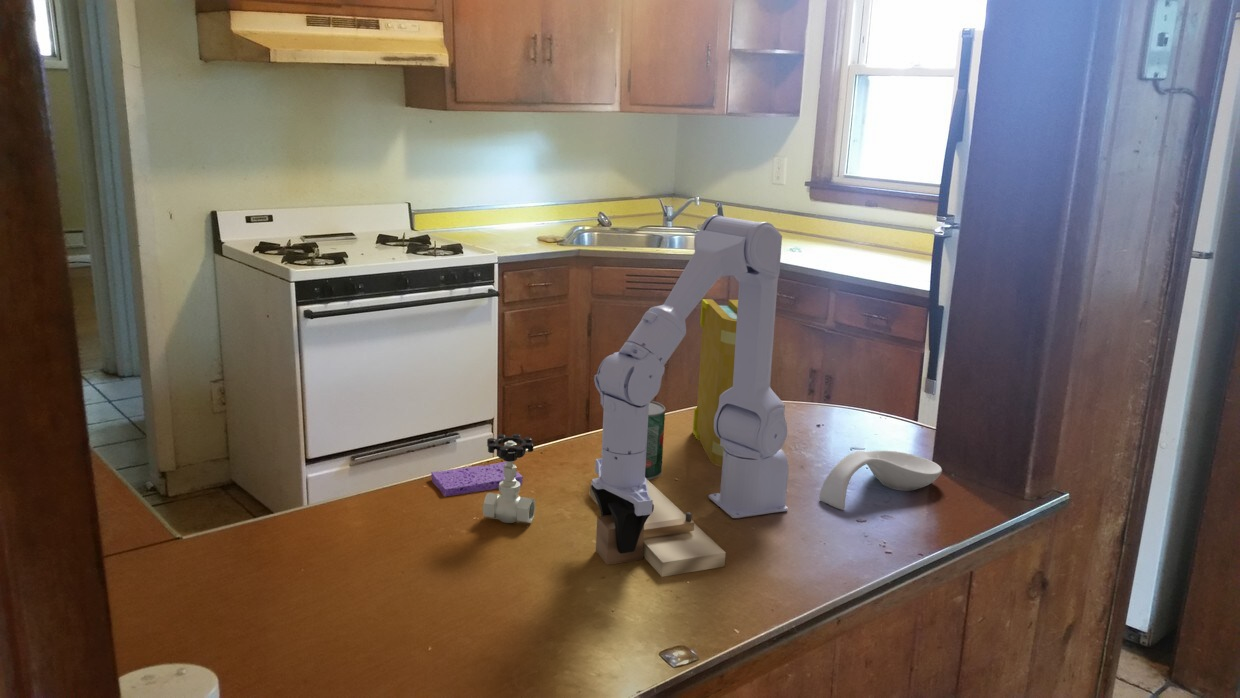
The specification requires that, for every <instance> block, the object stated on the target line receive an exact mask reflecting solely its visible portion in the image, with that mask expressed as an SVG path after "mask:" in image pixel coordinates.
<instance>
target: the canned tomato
mask: <svg viewBox="0 0 1240 698" xmlns="http://www.w3.org/2000/svg"><path fill="white" fill-rule="evenodd" d="M665 420H666V407H665V405H663V404H662V403H661V402H657V401H655V400H652V401H651V402H649V413H648V431H647V449H646V467H645V478H646V479H647V480H648V481H649V480H650V481H651V480H654V479H656V478H659V477H660V476H661V475H662V472H663V470H662V467H663V455H664V454H663V453H664V437H665V436H664V434H665Z"/></svg>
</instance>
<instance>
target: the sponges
mask: <svg viewBox="0 0 1240 698" xmlns="http://www.w3.org/2000/svg"><path fill="white" fill-rule="evenodd" d="M504 465H506V461H503V462H498V463H491V464H488V465H475V466H468V467H460V468H459V467H458V468H453V469H446V470H440V471H438V470H437V471H431V472H430V473H431V474H430V478H431V482H432V484H434V486H436V488H437V489H439V491H440V492H441V494H442V495H443V496H444V497H450V496H451V497H452V496H457V495H463V494H469V493H476V492H482V491H483V492H484V491H489V490H490V491H491V490H495V489H499V483H500V482H501V481H503V479H504V478H506V477H504V475H503V466H504ZM514 478H515V479H516V481H518V482H520V486H523V483H524V482H523V478H524V476H523V475H522V474H520V473H519V471H516V476H514Z"/></svg>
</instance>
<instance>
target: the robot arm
mask: <svg viewBox="0 0 1240 698" xmlns="http://www.w3.org/2000/svg"><path fill="white" fill-rule="evenodd" d="M782 240H783V235H782V234H781V233H780V232H779V231H778V230H777V228H776V227H775V226H774V225H773V224H772V223H770V222H768V221H753V220H748V219H741V218H735V217H728V216H723V215H720V214H713V215H711V216H709V217H707V218H706V219H705V221H704V222H703V223H702V225H701V227H700V230H699V231H698V232H696V234H695V235H694V240H693V241H694V243H693V248H694V249H693V250H694V252H693V254H692V256H691V258H690V259H689V261H688V263H687V264H686V266H685V268H684V270H683V271H682V273H681V274H680V276H679V278H678V279H677V281H676V283H675V285H673V288H672V290H670V293H669V294H668V296H667V298H666V299H665V301H664V303H663V304H661V305H655V306H652V307H650V308H649V309H648V310H646V311H645V313H644V314H643V315H642V318H641V319H640V321H639V323H638V324H637V326H636V327H635V328H634V330H633V331H632V332H631V333H630V335H629V337H628V338H627V340H626V341H625V342H624V344H623V345H622V346H621V348H620V349H619V350H618V351H616V352H613V354H610V355H608V356H606V357H605V358H604V359H603V360H602V361H601V362H600V364H599V367H598V370H597V373H596V374H594V379H593V380H594V381H593V382H594V385H595V388H596V389H597V391H598V393H599V394H600V406H601V407H602V408H603V411H602V412H603V414H602V415H603V416H602V418H603V419H602V437H601V438H602V440H601V458H596V459H595V468H594V471H595V474H597V475H598V477H596V478H592V479H591V483H592V485H591V489H592V491H593V493H594V495H595V497H596V499H597V502H598V505H599V506H598V505H597V506H598V508H599V513H600V516H605V515H612V516H613V519H614V523H615V529H616V543H617V548H618V551H619V553H621V554H622V553H628V552H634V551H635V548H636V545H637V542H638V539H639V536H640V533H641V530H642V528H643V526H644V524H645V522H646V520H647V519H648V517H649V516H650V514H652V512H653V510H654V505H653V500H652V499H651V498H650V496H649V492H648V486H647V481H646V478H645V467H646V449H647V431H648V413H649V402H651V401H654V399H655V397H656V396H657V395H658V394H659V392H660V389H661V386H662V377H663V375H664V374H665V370H666V367H665V366H666V364H667V362H668V360H669V359H670V358H671V356H672V355H673V354H674V352H675V350H676V349H677V348H678V346H680V343H681V342H682V341H683V339H684V338H685V336H686V335H687V326H686V325H687V324H686V319H687V318H688V317H689V316H690V314H691V313H692V312H693V311H694V309H695V308H696V307H697V306H698V304H699V303H700V302H702V299H704V297H706V294H707V293H709V290H711V288H713V286H714V285H715V284H716V282H717V281H718V280H719V279H720V278H723V277H730V276H733V277H734V278H735V280H736V281H738V297H737V298H738V299H737V300H738V309H737V325H736V342H735V358H734V375H733V387H731V388H730V389H728V390H726V391H725V392H723V393H722V394H721V395H720V396H719V406H718V409H717V412H716V414H715V417H714V432H715V434H716V436H717V437H718V438H720V446H722V447H724V452H723V464H722V467H721V479H720V480H721V481H720V490H719V492H717V493H710V494H709V495H708V499H709V500H711V501H712V502H713V503H714V504H716V505H717V506H718V507H720V509H721V510H722V511H724V512H725V513H726V514H727V515H728V516H730V517H731V518H732V519H741V518H746V517H748V518H749V517H753V516H761V515H767V514H775V513H781V512H787V511H788V509H789V507H788V506H787V505H786V501H787V491H788V490H787V489H788V482H789V470H790V469H789V461H788V457H787V455H786V452H785V451H784V450H783V449H782V448H783V447H784V444H785V442H786V440H787V437H788V436H787V435H788V424H787V419H786V415H785V414H786V413H785V411H786V410H785V409H786V405H785V404H784V402H783V401H782V399H780V398H779V396H778V394H776V393H775V392H774V391H773V389H772V387H771V379H772V378H771V377H772V363H773V352H774V351H773V350H774V339H775V338H774V336H775V335H774V334H775V326H776V325H775V323H776V311H777V310H776V309H777V295H778V281H779V280H778V279H779V277H780V273H781V272H780V270H781V269H780V268H781V256H782V255H781V254H782V245H783V243H782Z"/></svg>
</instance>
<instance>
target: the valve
mask: <svg viewBox="0 0 1240 698" xmlns="http://www.w3.org/2000/svg"><path fill="white" fill-rule="evenodd" d="M496 437H497V438H496V439H495V438H493V437H489V438H488V439H487V442H486V447H487V452H488V453H489V454H494V453H495V450H496V455H497V457H498V458H499V459H502V460H503V462H506V465H504V466H503V475H504V477H506V478H504V479H503V481H501V482H500V483H499V488H498V492H499V493H500V494H499V493H496V492H487V493H486V495H485V497H484V500H483V504H482V513H483V517H484V518H489V519H496V520H499V521H500V522H502V523H506V524H512V523H516V522H520V523H524V524H525V523H526V524H527V523H528V524H532V522H533V519H534V517H535V513H536V501H535V499H534V498H532V497H527V496H526V497H523V496H520V495H519V493H520V492H521V485H520V482H518V481H516V479H515V478H514V476H516V472H517V466H516V464H515V463H514V462H515V461H517V460H518V459H521V458H523V457H524V456H525V455H526V453H527V452H528V453H532V452H534V443H533V438H532V437H530V436H529V437H528V436H527V437H524V438H521V434H519V433H514V434H512V435H511V436H506V435H505V434H503V433H499V434H497V436H496ZM502 444H503V445H502ZM517 444H519V445H517Z"/></svg>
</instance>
